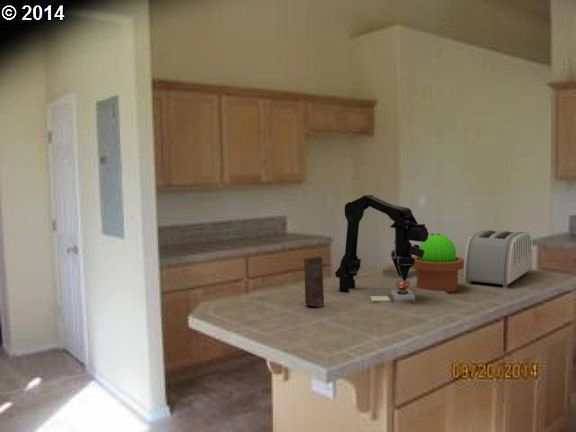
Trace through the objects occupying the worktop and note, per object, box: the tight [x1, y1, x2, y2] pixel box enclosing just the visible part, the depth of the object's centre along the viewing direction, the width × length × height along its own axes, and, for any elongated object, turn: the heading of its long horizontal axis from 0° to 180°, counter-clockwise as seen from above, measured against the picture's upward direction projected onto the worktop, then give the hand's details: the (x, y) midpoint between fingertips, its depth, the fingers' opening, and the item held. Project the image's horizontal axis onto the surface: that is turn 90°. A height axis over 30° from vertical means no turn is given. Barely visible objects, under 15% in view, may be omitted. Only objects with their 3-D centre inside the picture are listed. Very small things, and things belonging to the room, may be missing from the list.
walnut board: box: [366, 294, 418, 304], centre depth 215 cm, size 18×13×2 cm
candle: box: [303, 255, 325, 308], centre depth 211 cm, size 8×7×20 cm
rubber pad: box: [370, 296, 390, 301], centre depth 215 cm, size 7×7×1 cm
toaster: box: [463, 229, 533, 289], centre depth 257 cm, size 21×45×22 cm, turn 143°
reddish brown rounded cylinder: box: [395, 280, 410, 294], centre depth 214 cm, size 5×5×7 cm
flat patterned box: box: [380, 265, 417, 280], centre depth 275 cm, size 35×14×6 cm, turn 137°
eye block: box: [390, 289, 416, 301], centre depth 215 cm, size 8×8×2 cm
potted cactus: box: [412, 233, 465, 294], centre depth 236 cm, size 22×22×25 cm
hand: (402, 278), depth 214 cm, fingers open, 9 cm apart
